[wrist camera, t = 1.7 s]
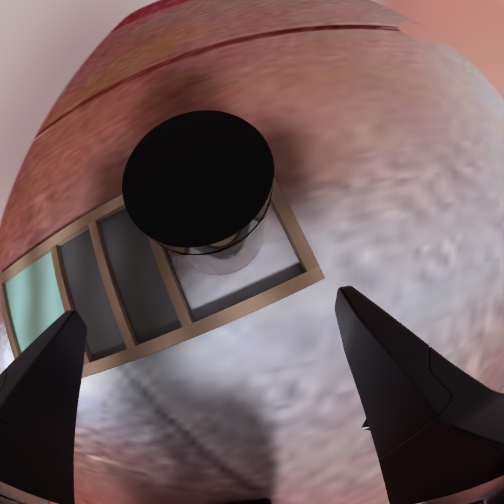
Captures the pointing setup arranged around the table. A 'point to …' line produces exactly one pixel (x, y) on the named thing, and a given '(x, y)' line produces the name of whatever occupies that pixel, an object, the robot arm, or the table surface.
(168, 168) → the supplement container
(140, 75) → the table surface
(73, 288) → the compartment sorting tray
